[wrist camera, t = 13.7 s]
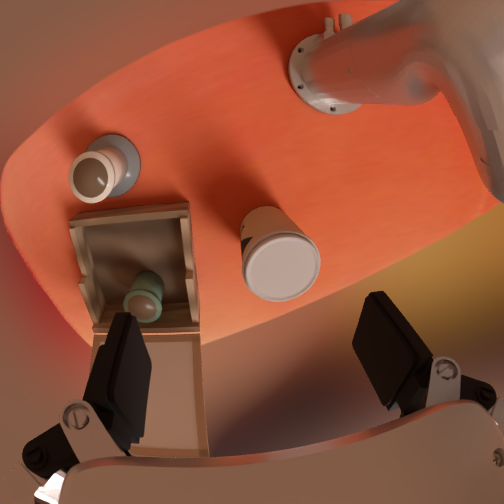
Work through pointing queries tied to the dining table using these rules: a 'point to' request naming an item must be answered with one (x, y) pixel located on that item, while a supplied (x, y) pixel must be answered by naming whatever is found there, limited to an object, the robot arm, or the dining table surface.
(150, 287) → the green pot
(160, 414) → the frame lid
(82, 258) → the box
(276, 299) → the coffee cup
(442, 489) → the robot arm
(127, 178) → the slate saucer
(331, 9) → the dining table surface
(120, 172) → the cream pot
